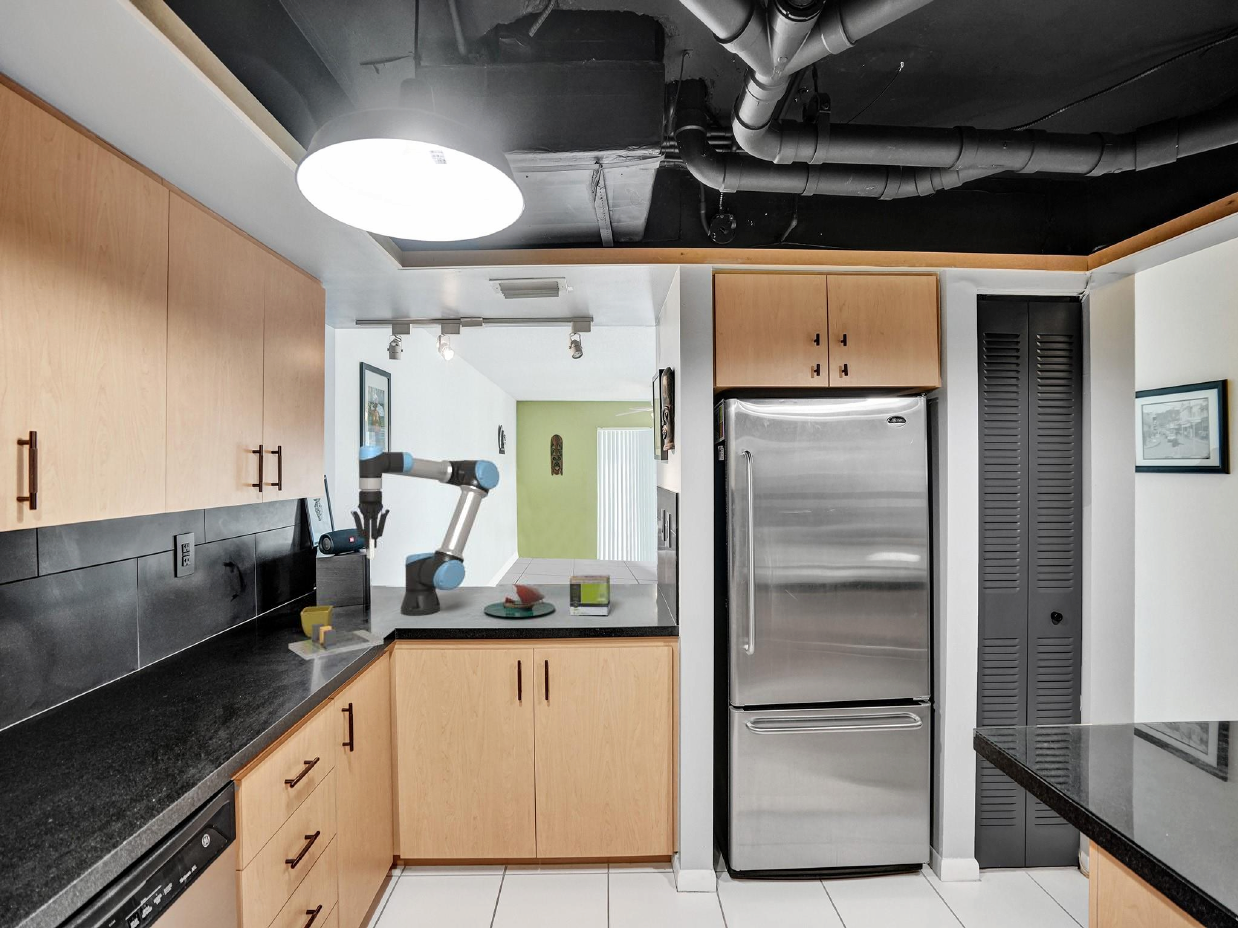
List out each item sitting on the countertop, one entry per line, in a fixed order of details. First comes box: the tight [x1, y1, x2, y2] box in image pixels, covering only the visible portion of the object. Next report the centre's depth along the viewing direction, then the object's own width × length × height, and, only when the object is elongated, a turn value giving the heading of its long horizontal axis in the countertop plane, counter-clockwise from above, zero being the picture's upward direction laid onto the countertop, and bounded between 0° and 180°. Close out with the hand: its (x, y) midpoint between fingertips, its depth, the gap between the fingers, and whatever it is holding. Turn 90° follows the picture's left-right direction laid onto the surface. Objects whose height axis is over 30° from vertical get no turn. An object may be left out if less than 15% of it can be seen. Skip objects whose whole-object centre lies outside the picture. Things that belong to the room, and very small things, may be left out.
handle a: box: [312, 623, 324, 641], centre depth 205 cm, size 3×2×5 cm, turn 134°
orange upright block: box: [320, 625, 333, 644], centre depth 202 cm, size 3×2×5 cm, turn 134°
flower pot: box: [300, 605, 333, 638], centre depth 217 cm, size 9×9×9 cm
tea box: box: [569, 574, 611, 616], centre depth 249 cm, size 15×10×15 cm
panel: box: [288, 629, 384, 661], centre depth 204 cm, size 24×16×2 cm, turn 135°
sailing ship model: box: [483, 583, 556, 618], centre depth 251 cm, size 28×28×11 cm
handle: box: [324, 628, 337, 648], centre depth 198 cm, size 3×2×5 cm, turn 134°
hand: (370, 557), depth 219 cm, fingers closed
